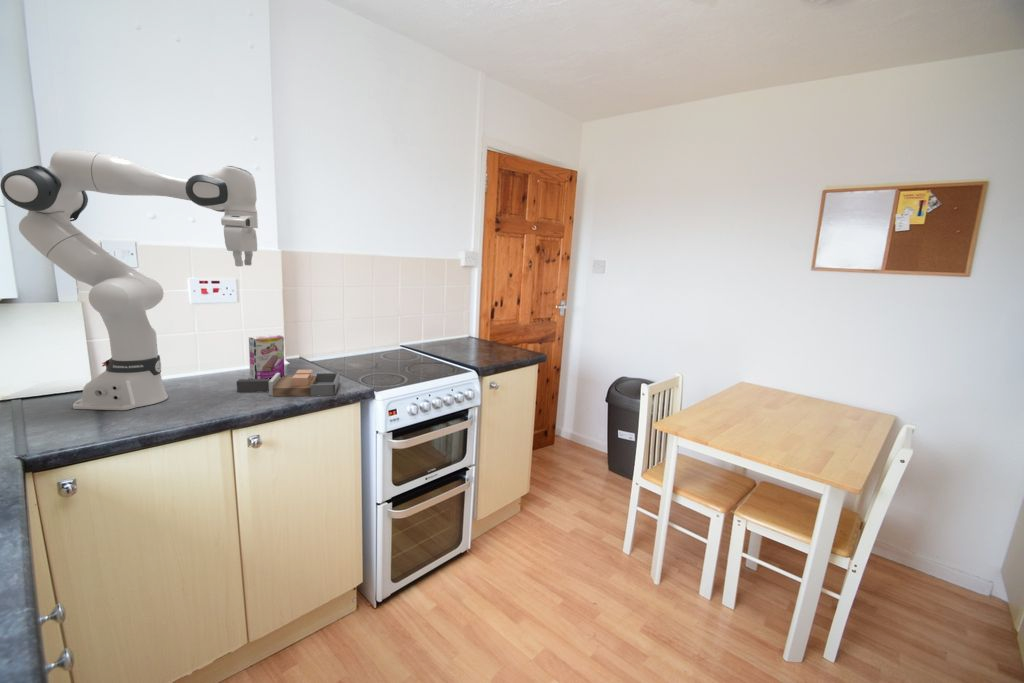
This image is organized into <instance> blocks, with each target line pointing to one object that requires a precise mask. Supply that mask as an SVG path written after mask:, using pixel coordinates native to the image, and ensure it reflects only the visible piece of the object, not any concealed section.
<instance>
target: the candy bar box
mask: <svg viewBox="0 0 1024 683" xmlns="http://www.w3.org/2000/svg"><path fill="white" fill-rule="evenodd" d="M284 338H285V337H284V336H283V335H279V334H272V335H270V334H269V335H260V336H259V335H258V336H250V337H248V353H249V379H250V378H251V379H268V378H271V379H272V377H273V376H274V375H275V374H276V373H280V378H281V376H283V377H285V352H284V351H285V349H284V348H285V343H284V340H285V339H284Z"/></svg>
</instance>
